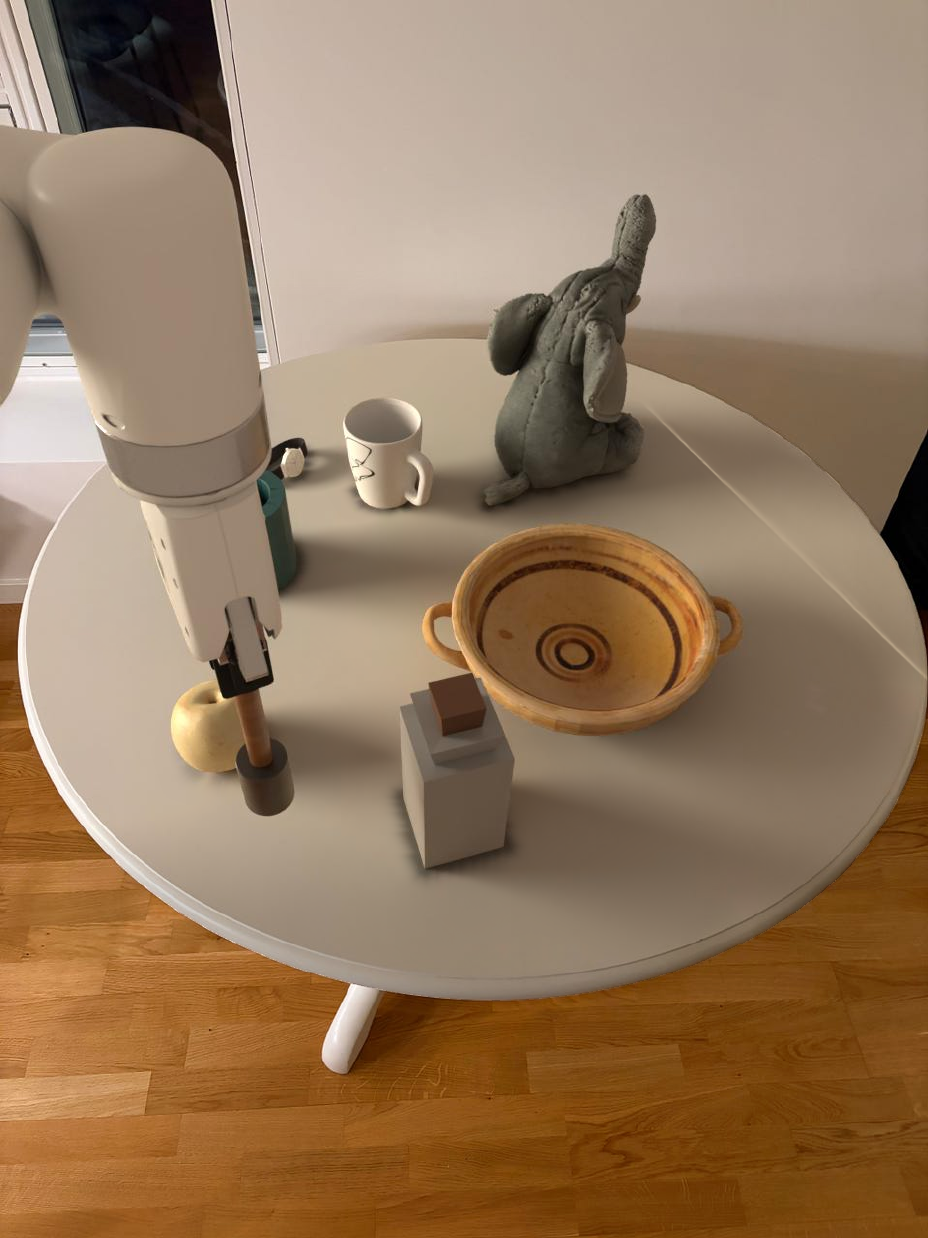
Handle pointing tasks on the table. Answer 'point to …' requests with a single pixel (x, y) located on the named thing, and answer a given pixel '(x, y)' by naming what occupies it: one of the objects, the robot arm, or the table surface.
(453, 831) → the perfume bottle
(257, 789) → the brush
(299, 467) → the watch
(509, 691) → the ceramic bowl
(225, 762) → the apple
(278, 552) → the teal hollow cylinder
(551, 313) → the stuffed elephant
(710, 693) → the table surface
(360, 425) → the mug
